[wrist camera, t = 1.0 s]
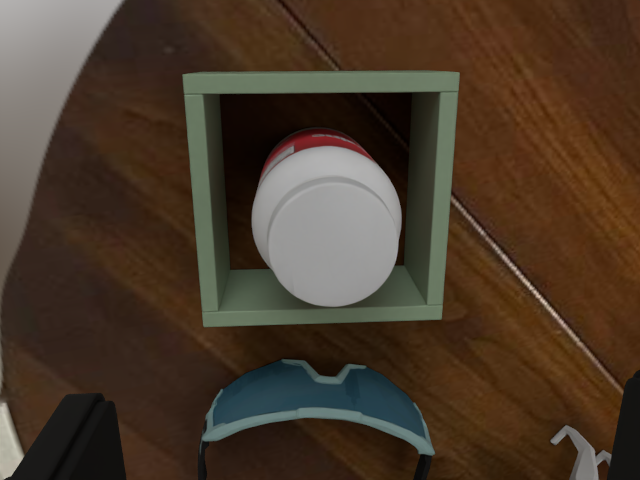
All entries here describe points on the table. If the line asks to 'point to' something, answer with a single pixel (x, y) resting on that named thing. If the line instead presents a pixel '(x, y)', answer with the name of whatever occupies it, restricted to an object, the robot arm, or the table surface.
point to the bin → (421, 213)
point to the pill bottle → (326, 218)
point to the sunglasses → (315, 405)
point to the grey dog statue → (582, 455)
